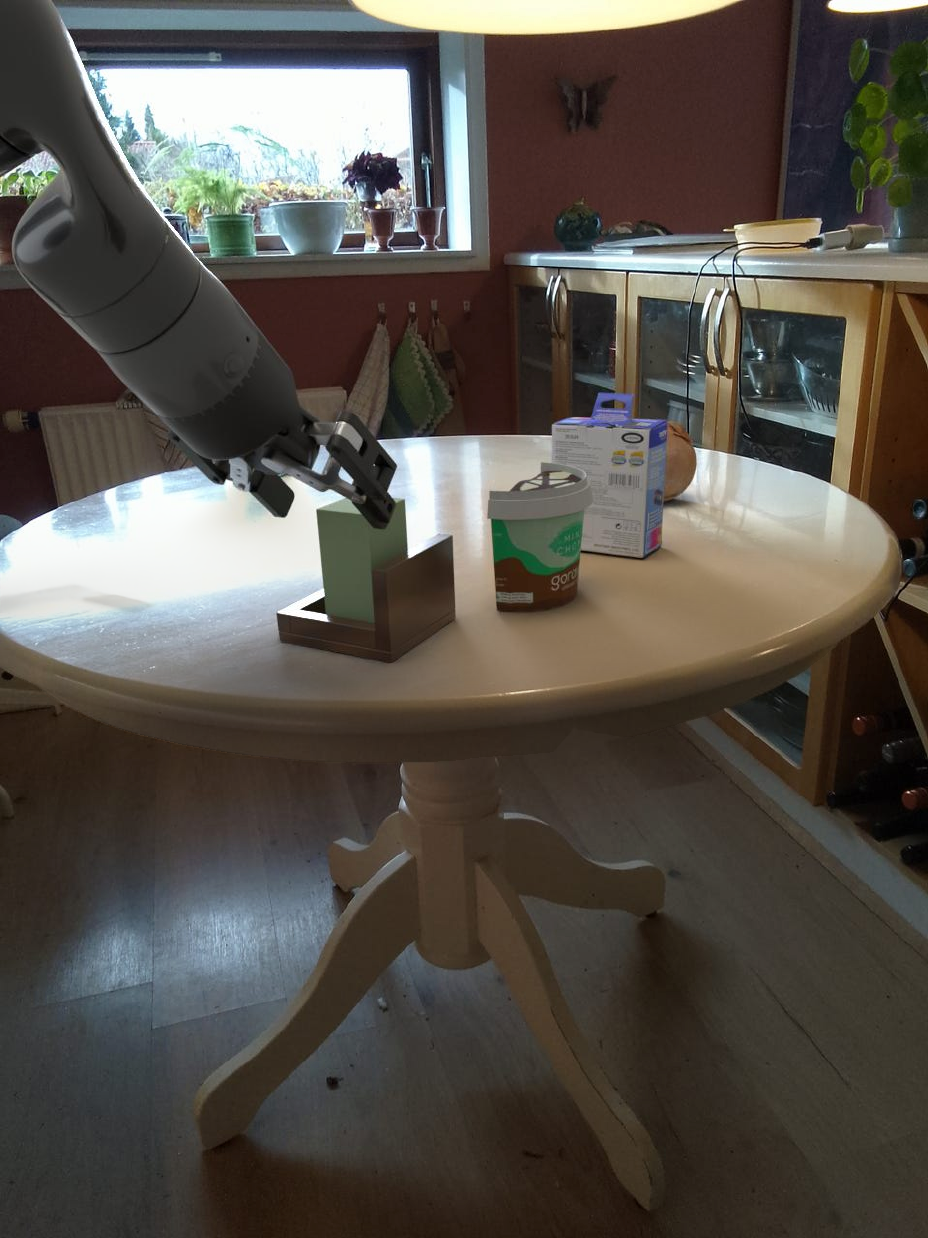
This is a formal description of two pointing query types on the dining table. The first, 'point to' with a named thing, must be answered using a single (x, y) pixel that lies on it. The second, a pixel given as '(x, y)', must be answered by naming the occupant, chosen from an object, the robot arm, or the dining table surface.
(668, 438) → the onion
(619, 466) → the ink cartridge box
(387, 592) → the seat frame
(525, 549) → the food container
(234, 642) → the dining table surface
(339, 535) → the green rectangular block
